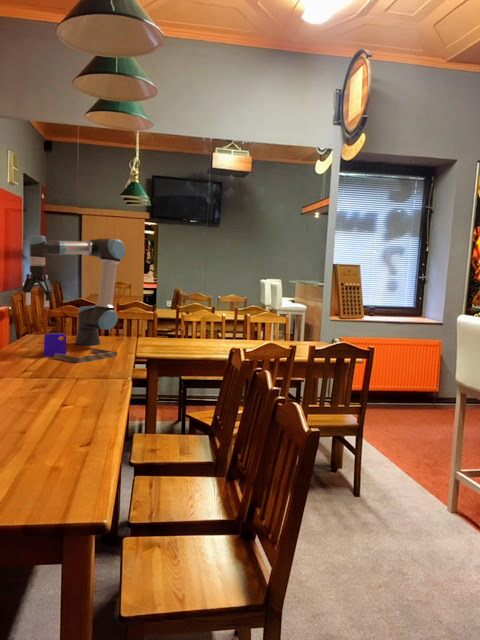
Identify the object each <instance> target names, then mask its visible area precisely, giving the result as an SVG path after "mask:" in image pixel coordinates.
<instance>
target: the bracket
mask: <svg viewBox="0 0 480 640" xmlns="http://www.w3.org/2000/svg"><path fill="white" fill-rule="evenodd" d="M60 337H63V338H62V339H61V340H60ZM43 339H44V340H43V356H44V357H54V354H56V353H59V354H65V355H67V335H66V334H65V333H63V332H61V333H60V332H48V333H45V334H44V336H43Z"/></svg>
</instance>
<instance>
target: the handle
mask: <svg viewBox="0 0 480 640" xmlns="http://www.w3.org/2000/svg"><path fill="white" fill-rule="evenodd" d="M91 353H93V354H89V355H83V356H82V355H81V356H75V355H69V354H66V355H65V354H59V353H56V354H54V356H53V358H54V359H55V360H61V361H66V362H71V363H76V364H79V363H85V362H86V363H87V362H92V361H96V360H104V359H108V358H112V357H118V351H115V350H108V349H102V348H96V347H93V348H91Z"/></svg>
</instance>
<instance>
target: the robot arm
mask: <svg viewBox="0 0 480 640" xmlns="http://www.w3.org/2000/svg"><path fill="white" fill-rule="evenodd" d="M28 247H29V264H30V266H29V272H30V273H27V274H26V278H25V281H24V282H23V283H24V284H23V285H22V288H21V291H22V292H24V298H25V306H31V305H32V293H31V290H32V289H33V287H34V286H35V284H38V285H40V287H41V289H42V291H43V293H44V294H43V308H50V300H51V298H50V297H51V294H53V293H54V290H53V287H52V285H51V281H50V277H49V275H48V274H45V273H46V255H51V256H64V255H83V256H86V257H95V258H99V260H100V262H101V270H100V281H99V288H98V289H99V290H98V298H97V303H96V304H95V305H86V306H80V307H79V308H78V313H77V314H78V315H77V333H76V335H75V338H74V344H75V345H80V346H96V345H100V344H101V339H100V336H99V331H98V330H99V329H101V330H111V329H112V328H114V327H115V326H116V324H117V322H118V317H119V316H118V314H117V312H116V311H115V309H116V308H115V306H114V305H113V302H114V295H115V294H114V293H115V286H116V277H117V268H118V264H120V263H121V259H122V258H124V256H125V255H126V247H125V244H124V243H123V241H122V240H120V239H118V238H96V239H85V240H83V241H81V240H79V241H77V240H49V239H46V236H45V235H39V234H38V235H36V234H35V235H34V234H33V235H31V236H30V237H29V245H28Z"/></svg>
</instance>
